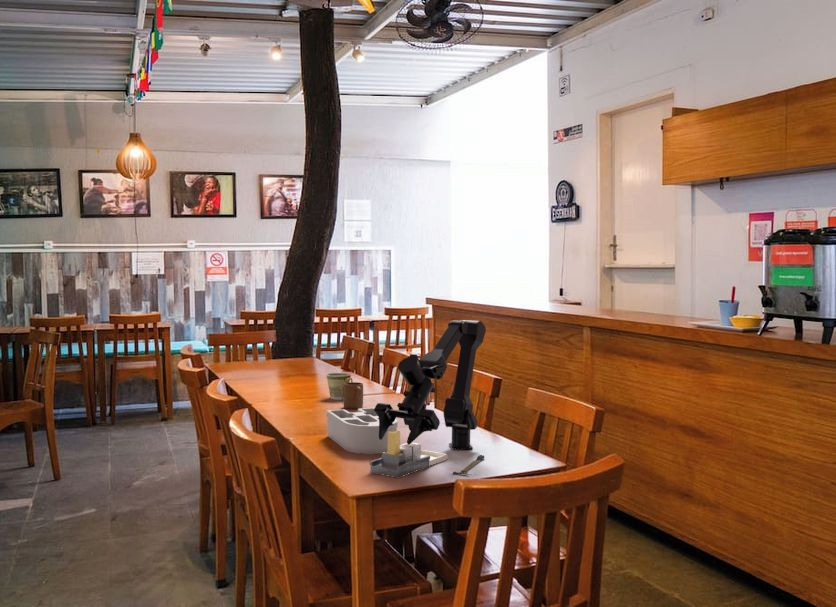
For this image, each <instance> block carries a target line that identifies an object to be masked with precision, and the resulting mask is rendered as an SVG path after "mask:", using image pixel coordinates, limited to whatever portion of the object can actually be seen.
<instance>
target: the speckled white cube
mask: <svg viewBox="0 0 836 607" xmlns="http://www.w3.org/2000/svg"><path fill="white" fill-rule="evenodd" d="M401 445H403V446H409V447H412V461H414V460H417V459H419V458H421V450H422V444H421V443H418V442H417V443H416V442H412V443H411V444H410V445H408V444H407V442H406V443H405V442H404V443H403V444H401Z"/></svg>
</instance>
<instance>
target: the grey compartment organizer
mask: <svg viewBox="0 0 836 607" xmlns="http://www.w3.org/2000/svg"><path fill="white" fill-rule="evenodd" d="M374 408H375V407H364V408H363V407H362V408H360V409H357V412H350V411H348V410H346V409H345V408H344V409H331V410H330V409H328V410H326V417H327V420H326V421H327V422H326V423H327V424H326V432H327V437H329V438H330V439H331V440H332V441H334V442H335V443H336V444H337V445H339V446H340V447H341V448H342V449H344V450H345V451H347V452H349V453H353V452H354V454H360V453H366V454H365V455H373V454H372V453H380V454H382V453H383V452H387V449H388V432H389V431H392V430H394V431H398V419H397V418H396V419H395V421H394V422H392V423H393V425H391V426H389V428H388V429H387V431H386V433H385V435H384V437H383V438H382V440H380V439H379V417H378V415H377V414H376V412H375V411H374Z"/></svg>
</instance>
